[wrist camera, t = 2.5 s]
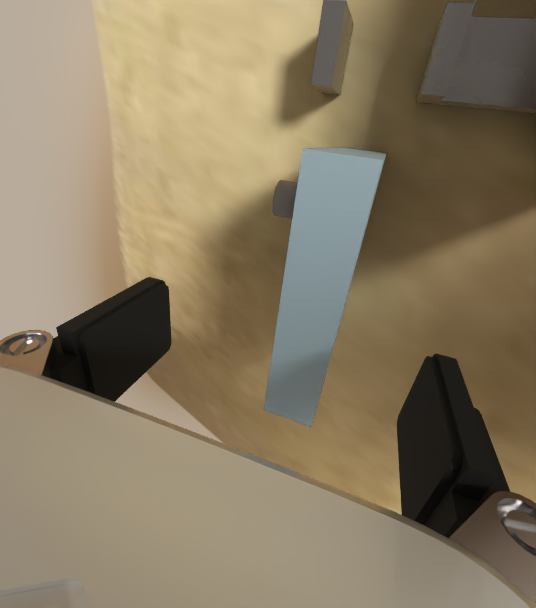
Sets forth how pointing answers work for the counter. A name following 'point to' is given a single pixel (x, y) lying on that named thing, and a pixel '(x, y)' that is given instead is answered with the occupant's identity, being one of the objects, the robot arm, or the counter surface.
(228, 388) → the counter surface
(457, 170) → the counter surface
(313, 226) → the block
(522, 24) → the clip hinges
